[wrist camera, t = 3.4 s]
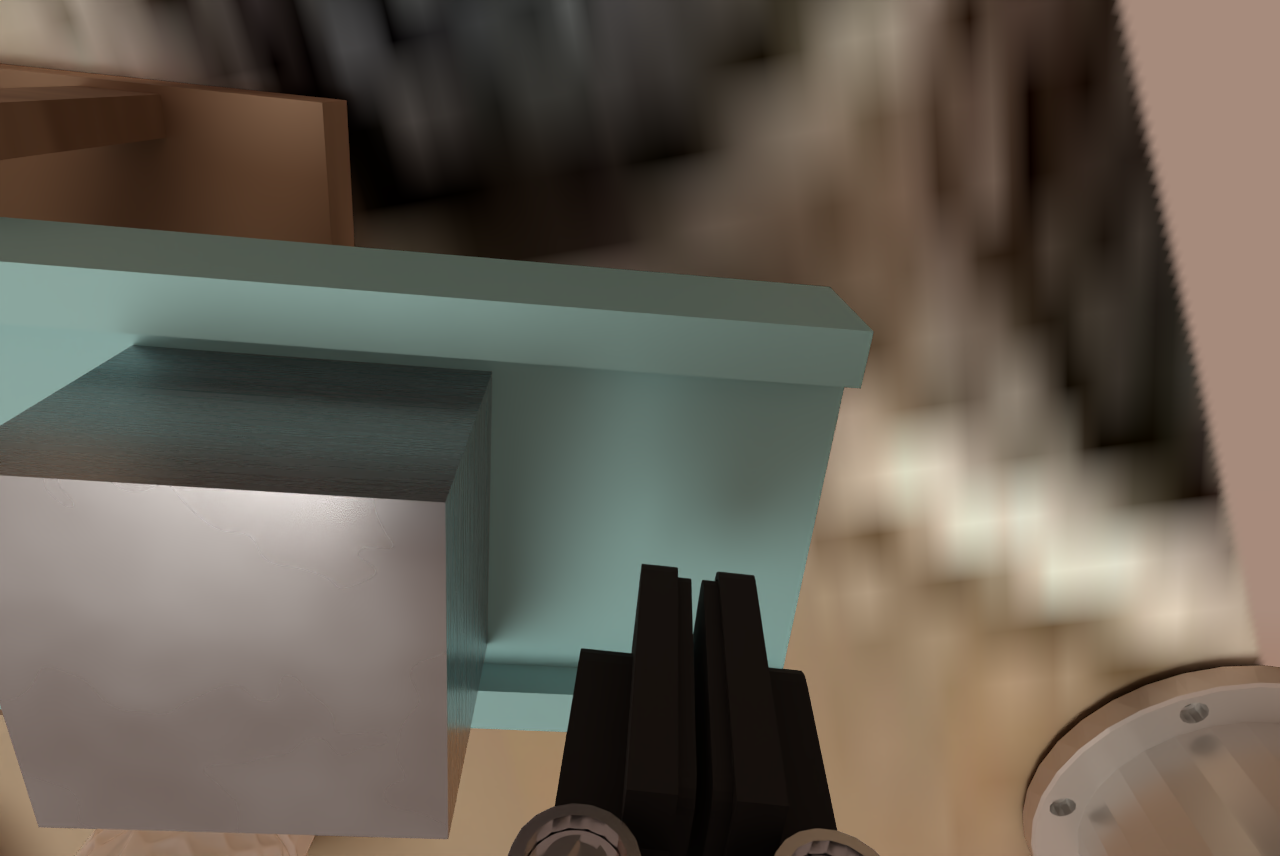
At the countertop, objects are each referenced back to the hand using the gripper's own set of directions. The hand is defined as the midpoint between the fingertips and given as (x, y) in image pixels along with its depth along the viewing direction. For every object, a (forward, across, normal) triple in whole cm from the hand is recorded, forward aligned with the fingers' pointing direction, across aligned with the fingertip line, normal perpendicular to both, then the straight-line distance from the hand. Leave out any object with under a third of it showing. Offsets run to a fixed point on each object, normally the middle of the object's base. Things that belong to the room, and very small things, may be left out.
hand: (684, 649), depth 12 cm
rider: (+3, +7, 0) cm, 7 cm away
